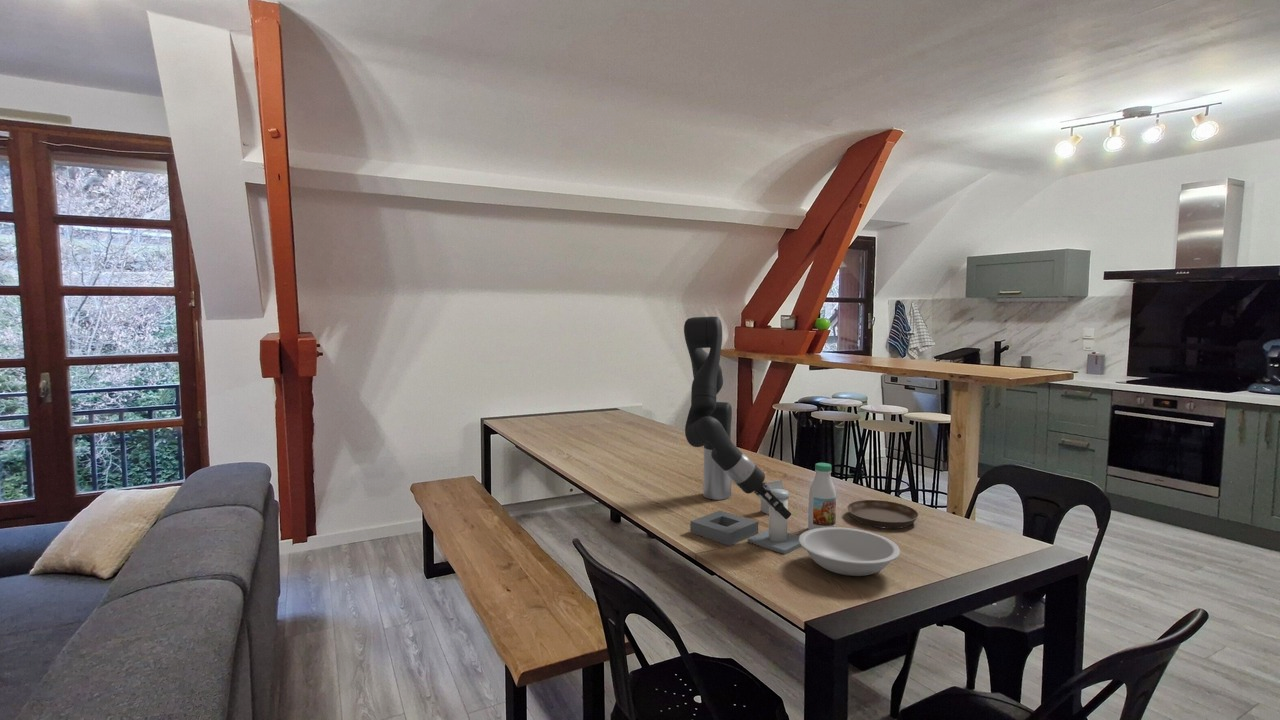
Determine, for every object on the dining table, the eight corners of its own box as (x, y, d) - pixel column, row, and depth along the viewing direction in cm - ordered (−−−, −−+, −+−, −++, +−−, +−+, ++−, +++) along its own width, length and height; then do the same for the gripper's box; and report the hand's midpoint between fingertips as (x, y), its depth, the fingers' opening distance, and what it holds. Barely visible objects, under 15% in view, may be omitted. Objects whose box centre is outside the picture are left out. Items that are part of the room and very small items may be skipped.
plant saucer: (882, 535, 177) (882, 524, 177) (832, 514, 196) (833, 504, 196) (933, 526, 186) (933, 515, 185) (881, 506, 204) (881, 496, 204)
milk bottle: (803, 531, 180) (804, 464, 179) (815, 524, 186) (817, 459, 184) (827, 537, 175) (829, 468, 173) (839, 530, 180) (841, 464, 179)
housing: (719, 521, 188) (720, 510, 188) (758, 533, 178) (758, 521, 178) (690, 532, 178) (690, 521, 178) (729, 545, 168) (729, 533, 168)
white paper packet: (784, 511, 198) (785, 481, 197) (767, 514, 195) (768, 483, 194) (777, 508, 201) (778, 478, 200) (760, 511, 198) (761, 481, 197)
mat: (771, 531, 180) (771, 528, 180) (808, 542, 171) (808, 538, 171) (747, 542, 171) (747, 538, 171) (785, 554, 163) (785, 550, 163)
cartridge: (774, 533, 175) (775, 487, 174) (791, 538, 171) (792, 491, 170) (764, 538, 171) (765, 491, 170) (780, 543, 167) (782, 495, 166)
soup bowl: (921, 583, 145) (922, 556, 145) (833, 596, 139) (834, 568, 138) (858, 546, 168) (859, 523, 168) (780, 556, 162) (781, 531, 161)
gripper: (761, 469, 161) (802, 510, 164) (745, 456, 176) (783, 494, 178) (741, 489, 161) (782, 530, 163) (727, 475, 175) (765, 513, 178)
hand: (783, 511), depth 171 cm, fingers open, 8 cm apart
